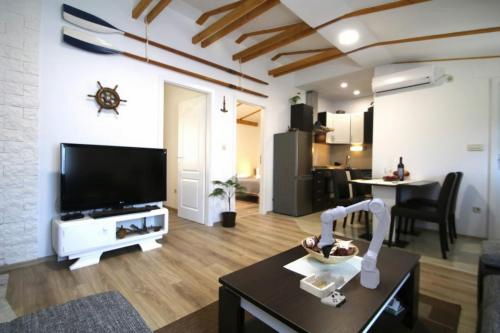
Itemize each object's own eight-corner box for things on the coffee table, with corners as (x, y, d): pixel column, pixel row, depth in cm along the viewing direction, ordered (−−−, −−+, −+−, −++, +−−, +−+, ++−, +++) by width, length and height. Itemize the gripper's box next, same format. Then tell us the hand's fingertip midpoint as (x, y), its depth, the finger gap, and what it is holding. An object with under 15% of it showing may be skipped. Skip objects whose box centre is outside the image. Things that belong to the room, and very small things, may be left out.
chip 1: (315, 286, 113) (315, 281, 113) (322, 289, 110) (322, 284, 110) (310, 289, 110) (310, 284, 110) (317, 293, 107) (317, 287, 107)
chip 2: (319, 283, 115) (319, 278, 115) (327, 286, 112) (327, 281, 112) (315, 286, 113) (315, 281, 113) (322, 289, 110) (322, 284, 110)
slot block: (325, 275, 126) (325, 269, 126) (346, 284, 117) (346, 278, 117) (313, 281, 119) (313, 275, 119) (335, 292, 110) (335, 285, 110)
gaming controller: (331, 291, 109) (341, 285, 105) (340, 305, 105) (351, 299, 102) (318, 301, 101) (329, 295, 97) (327, 316, 98) (339, 310, 94)
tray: (313, 282, 119) (313, 273, 119) (334, 292, 110) (335, 283, 109) (300, 289, 112) (300, 280, 111) (321, 301, 102) (322, 291, 102)
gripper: (327, 229, 134) (326, 252, 134) (312, 234, 124) (312, 258, 125) (338, 232, 128) (338, 256, 129) (324, 237, 119) (324, 263, 119)
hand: (326, 257), depth 126 cm, fingers closed
